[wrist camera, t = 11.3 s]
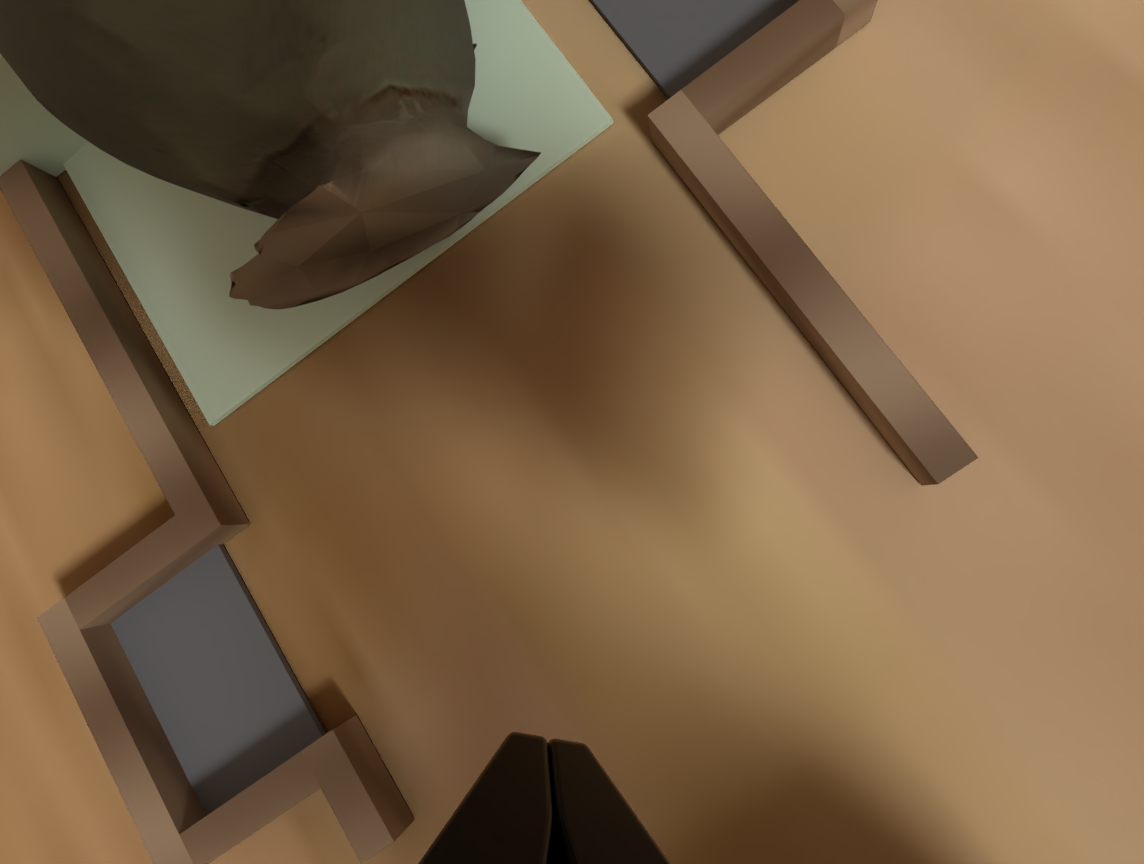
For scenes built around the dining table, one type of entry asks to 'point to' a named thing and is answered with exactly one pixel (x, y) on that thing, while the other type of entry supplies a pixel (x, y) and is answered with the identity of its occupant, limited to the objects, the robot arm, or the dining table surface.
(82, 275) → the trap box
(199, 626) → the mats
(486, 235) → the dining table surface
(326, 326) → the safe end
